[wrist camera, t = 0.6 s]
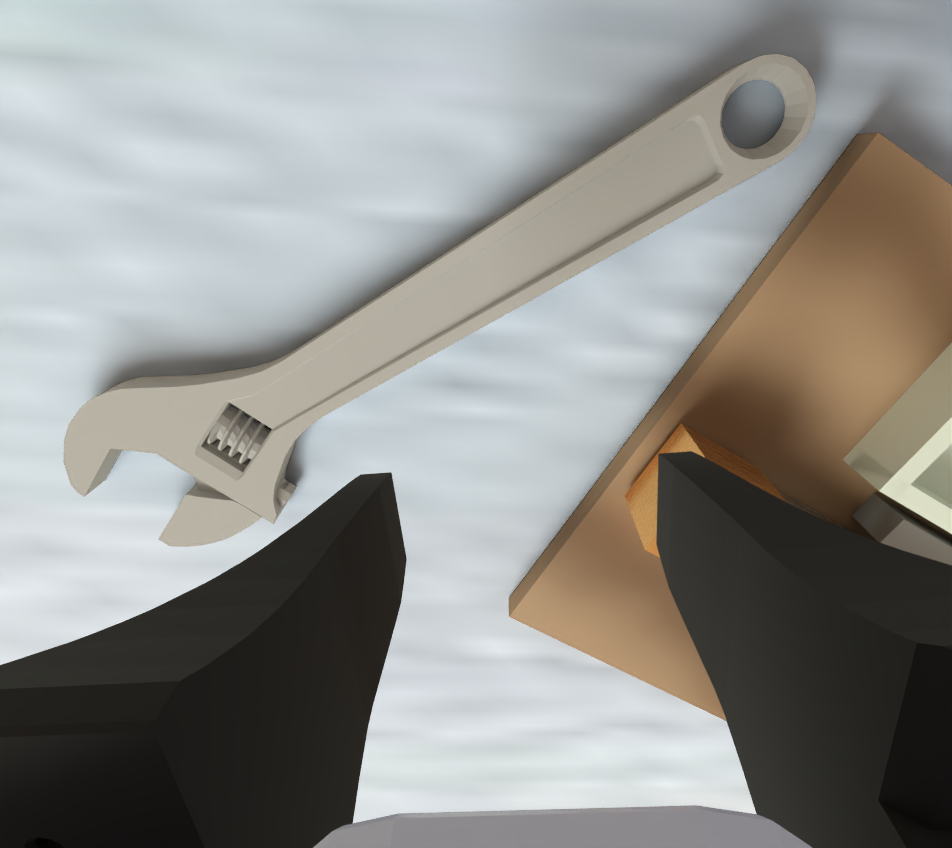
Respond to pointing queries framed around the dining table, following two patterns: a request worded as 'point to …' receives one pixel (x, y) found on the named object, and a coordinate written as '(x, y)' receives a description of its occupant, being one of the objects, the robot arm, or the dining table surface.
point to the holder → (773, 407)
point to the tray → (914, 446)
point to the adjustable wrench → (424, 311)
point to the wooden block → (686, 439)
